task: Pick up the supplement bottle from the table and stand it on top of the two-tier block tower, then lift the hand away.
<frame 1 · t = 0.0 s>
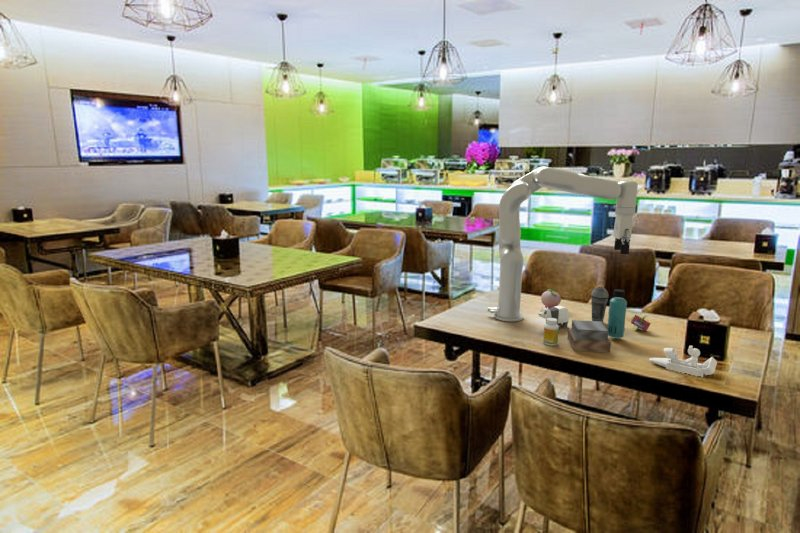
hand: (621, 251, 220), 31 cm above the table, tool pointing down, fingers open, 9 cm apart
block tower: (587, 345, 200), on the table
geometric puzzle: (639, 331, 217), on the table
toy boat: (680, 370, 178), on the table
beverage cup: (597, 322, 227), on the table
decorative fruit: (549, 309, 245), on the table
beverage bottle: (614, 339, 207), on the table
supplement bottle: (550, 343, 201), on the table
giant panda: (553, 327, 220), on the table
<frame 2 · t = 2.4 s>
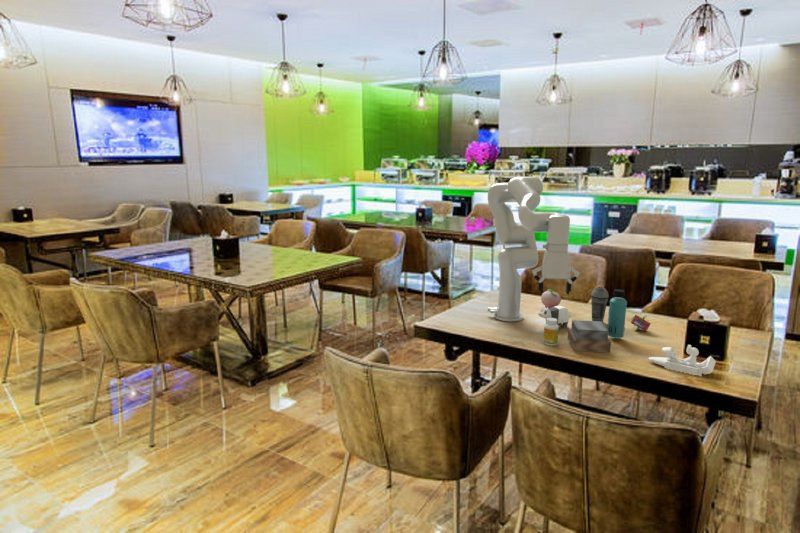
hand: (554, 292, 197), 20 cm above the table, tool pointing down, fingers open, 9 cm apart
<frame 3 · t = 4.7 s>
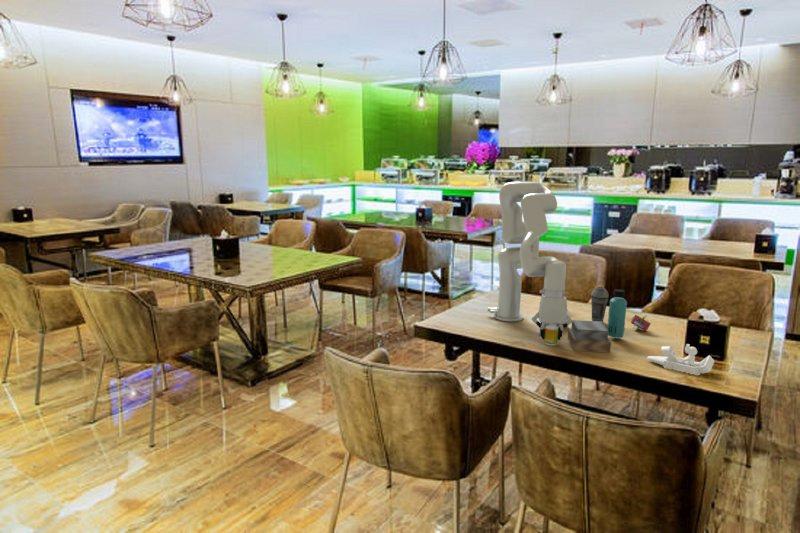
hand: (550, 338, 201), 2 cm above the table, tool pointing down, fingers closed on supplement bottle, 5 cm apart
supplement bottle: (550, 343, 201), on the table, touching gripper
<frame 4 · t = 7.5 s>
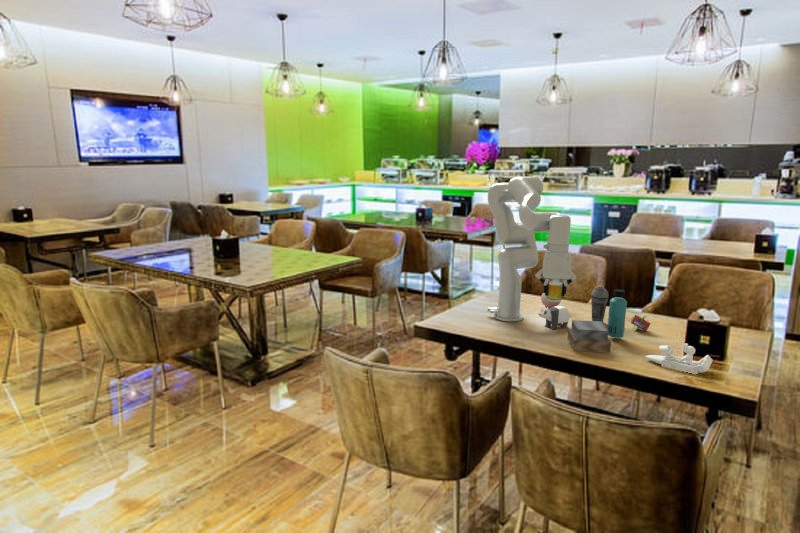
hand: (554, 294, 197), 19 cm above the table, tool pointing down, fingers closed on supplement bottle, 5 cm apart
supplement bottle: (553, 300, 198), point 17 cm above the table, touching gripper
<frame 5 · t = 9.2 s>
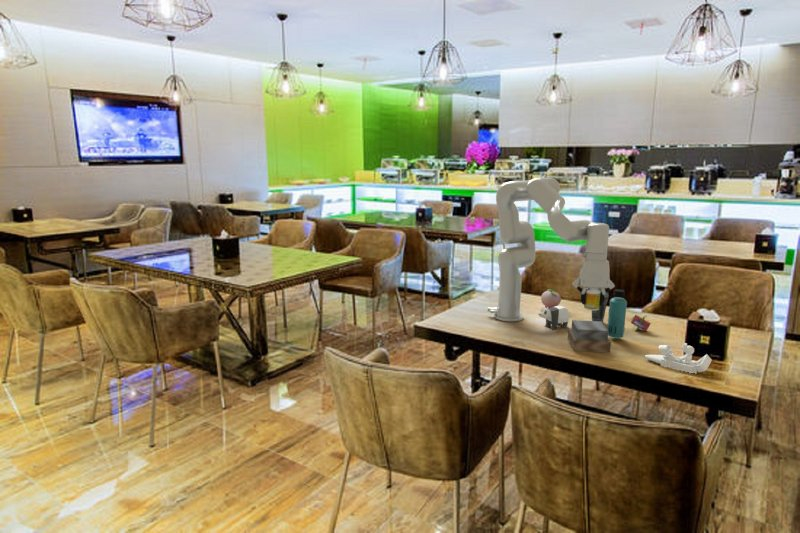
hand: (591, 303, 196), 17 cm above the table, tool pointing down, fingers closed on supplement bottle, 5 cm apart
supplement bottle: (591, 309, 196), point 14 cm above the table, touching gripper
when the fingers open (12 cm above the table, at t = 10.4 s): supplement bottle drops 2 cm, resting on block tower.
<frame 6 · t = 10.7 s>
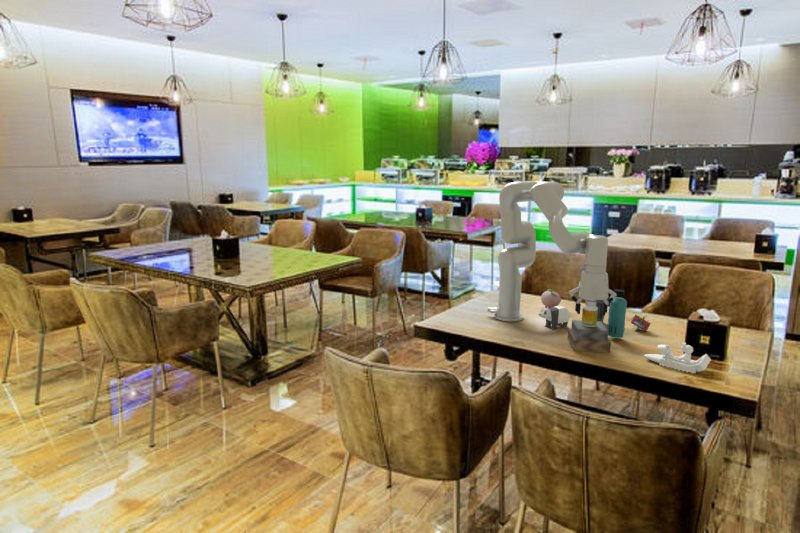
hand: (590, 313, 197), 13 cm above the table, tool pointing down, fingers open, 8 cm apart
supplement bottle: (588, 325, 198), point 8 cm above the table, touching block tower
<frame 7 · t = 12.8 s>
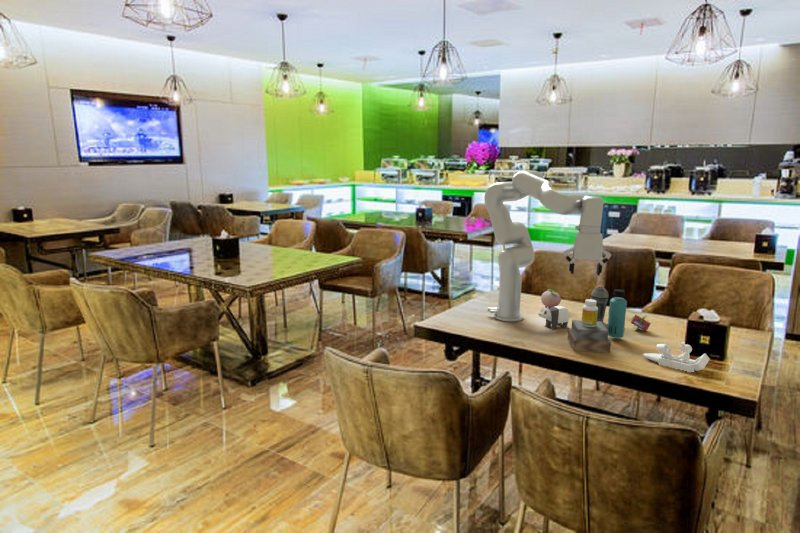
hand: (584, 273, 200), 27 cm above the table, tool pointing down, fingers open, 9 cm apart
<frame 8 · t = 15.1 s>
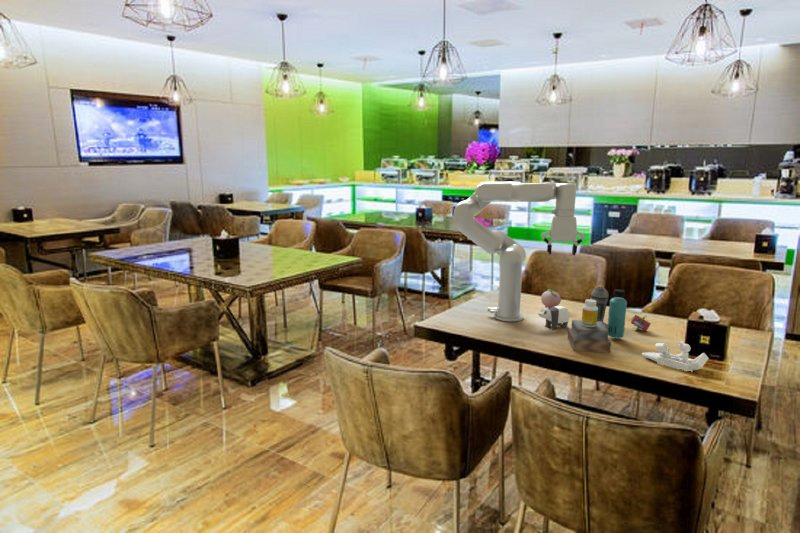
hand: (561, 254, 218), 30 cm above the table, tool pointing down, fingers open, 9 cm apart
at the end: supplement bottle 0.3 cm off-centre on the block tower, point 7.8 cm above the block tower's base; supplement bottle tilted 0°; the gripper is holding nothing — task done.
